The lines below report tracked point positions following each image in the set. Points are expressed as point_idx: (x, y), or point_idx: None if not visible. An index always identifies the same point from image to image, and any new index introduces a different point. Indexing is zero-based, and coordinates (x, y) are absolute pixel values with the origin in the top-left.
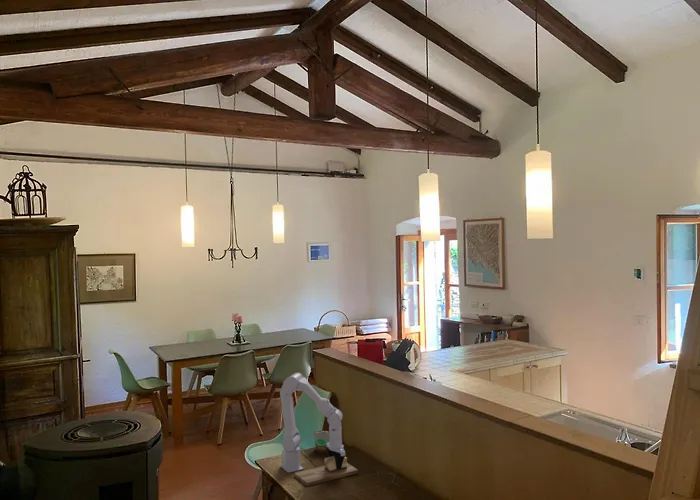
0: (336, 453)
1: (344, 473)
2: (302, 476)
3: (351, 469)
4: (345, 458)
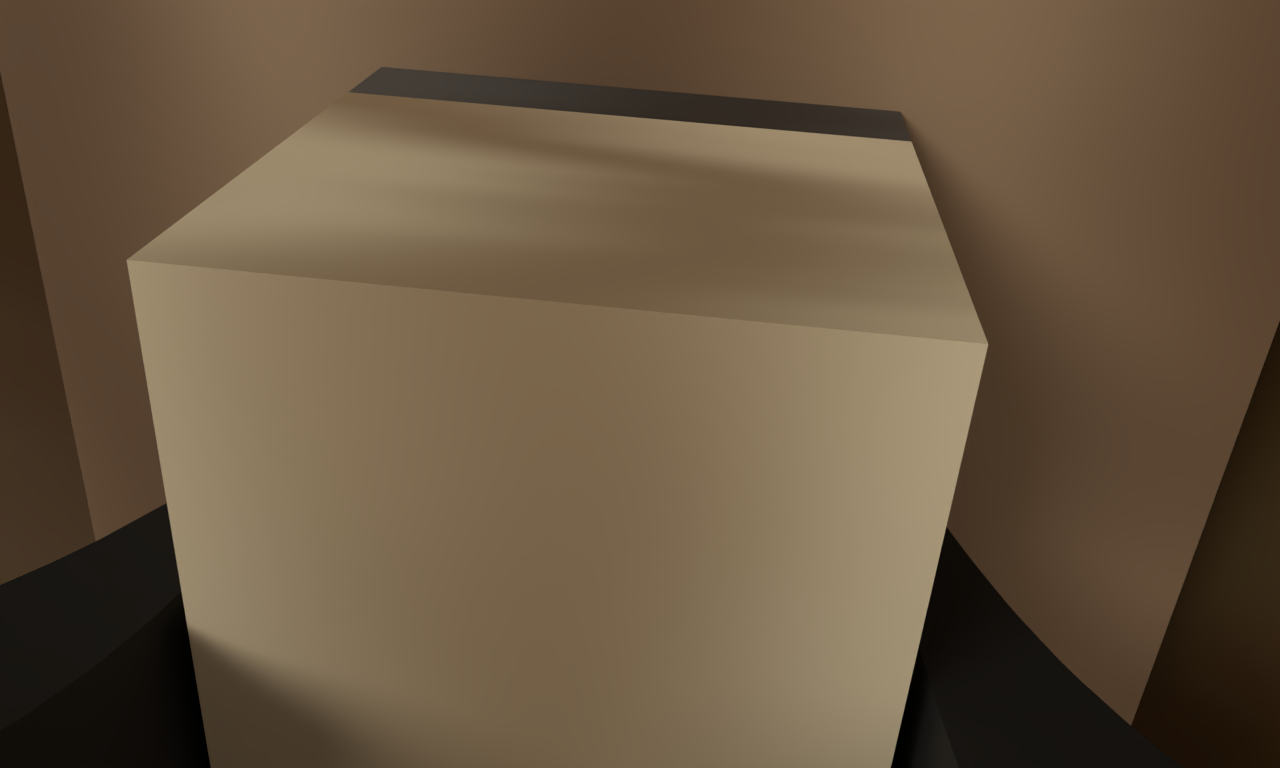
0: (100, 692)
1: (1219, 484)
2: None
3: (1159, 8)
4: (957, 438)
